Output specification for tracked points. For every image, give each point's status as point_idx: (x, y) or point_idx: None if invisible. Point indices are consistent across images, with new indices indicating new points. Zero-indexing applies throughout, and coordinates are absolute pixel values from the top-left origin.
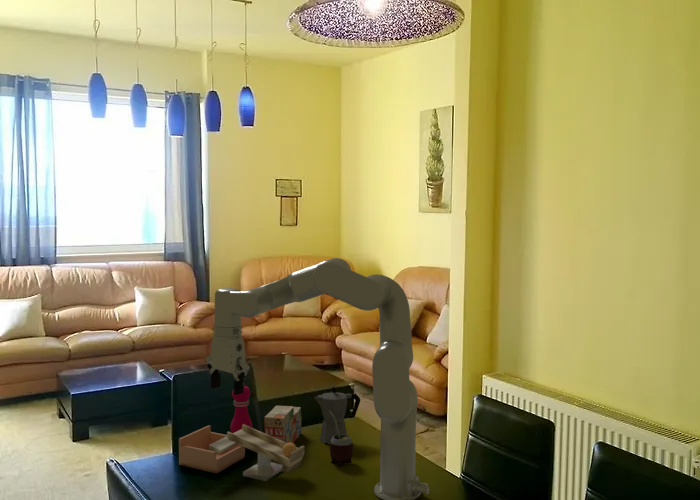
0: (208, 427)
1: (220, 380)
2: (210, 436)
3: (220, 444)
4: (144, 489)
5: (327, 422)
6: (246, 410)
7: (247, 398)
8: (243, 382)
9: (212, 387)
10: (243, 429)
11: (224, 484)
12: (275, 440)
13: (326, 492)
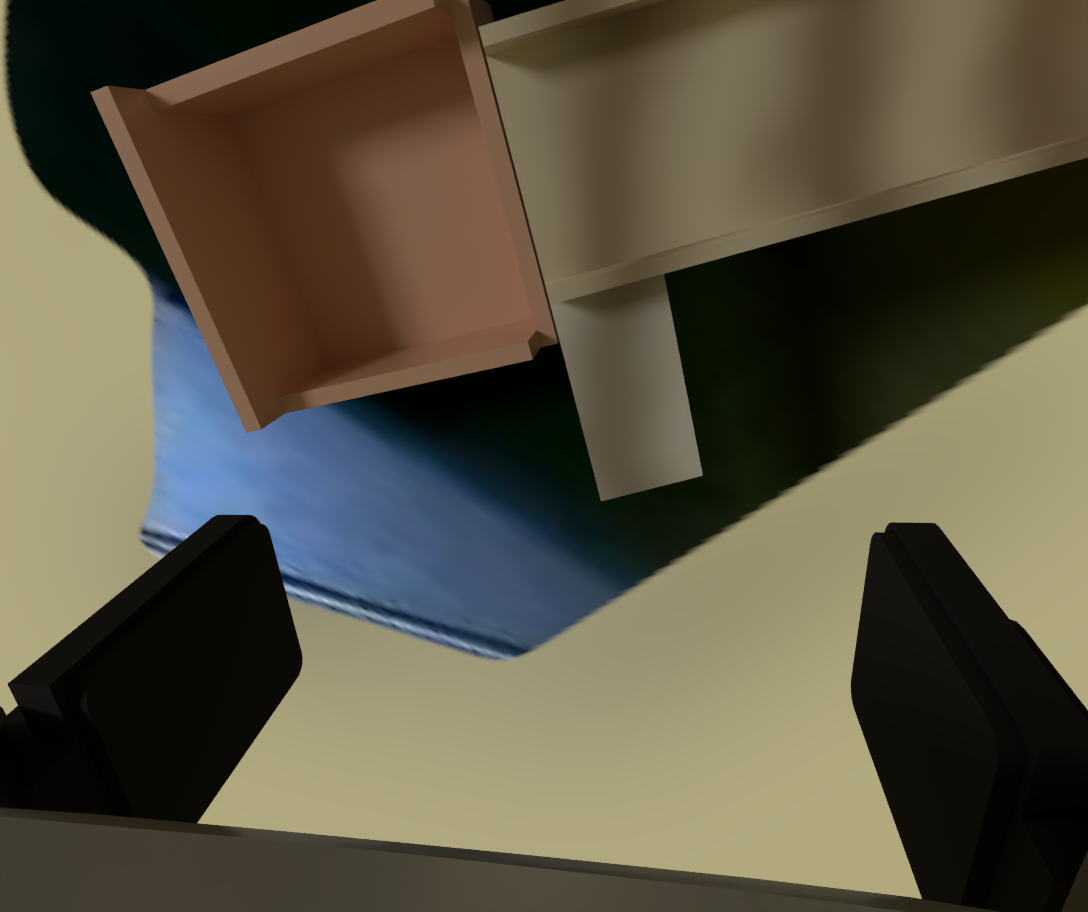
0: (125, 116)
1: (198, 579)
2: (183, 108)
3: (635, 425)
4: (480, 629)
5: None
6: None
7: None
8: (1040, 664)
9: (296, 675)
10: (504, 49)
11: (725, 391)
12: None
13: None
